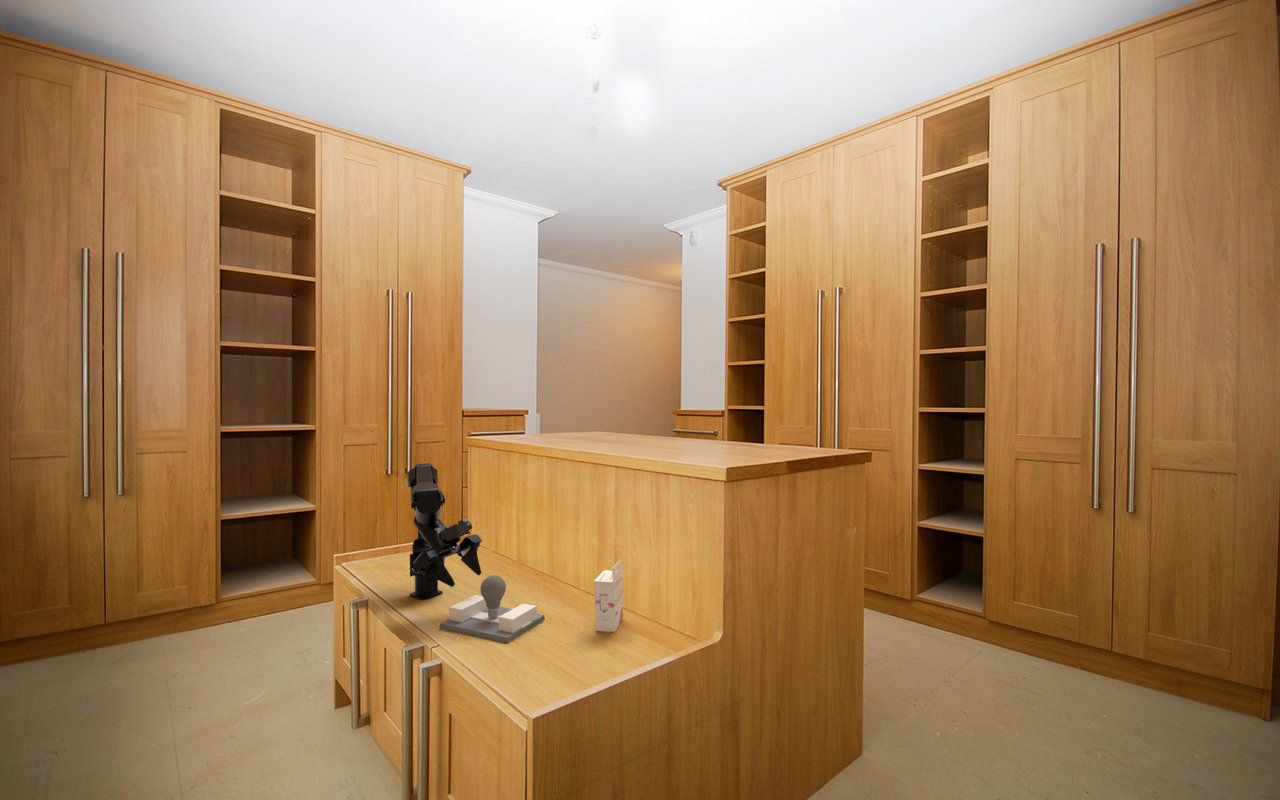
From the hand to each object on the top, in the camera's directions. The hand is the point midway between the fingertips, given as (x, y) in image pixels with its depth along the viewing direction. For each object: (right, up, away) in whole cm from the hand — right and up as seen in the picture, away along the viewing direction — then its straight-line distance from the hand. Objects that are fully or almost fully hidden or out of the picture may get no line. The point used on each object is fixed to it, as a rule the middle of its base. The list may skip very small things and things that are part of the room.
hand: (467, 579), depth 136 cm
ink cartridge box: (+35, -9, -5) cm, 37 cm away
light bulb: (+7, -8, -3) cm, 12 cm away
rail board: (+7, -9, -4) cm, 13 cm away
